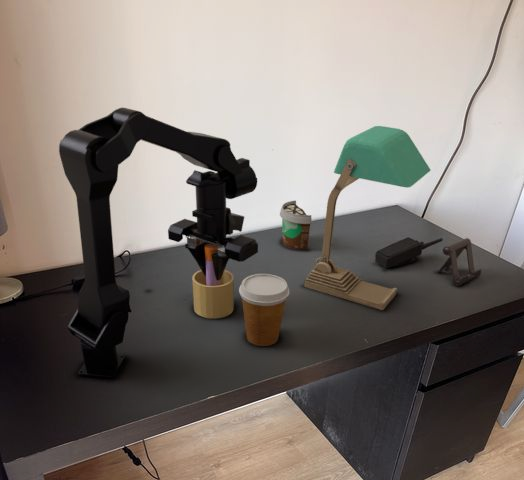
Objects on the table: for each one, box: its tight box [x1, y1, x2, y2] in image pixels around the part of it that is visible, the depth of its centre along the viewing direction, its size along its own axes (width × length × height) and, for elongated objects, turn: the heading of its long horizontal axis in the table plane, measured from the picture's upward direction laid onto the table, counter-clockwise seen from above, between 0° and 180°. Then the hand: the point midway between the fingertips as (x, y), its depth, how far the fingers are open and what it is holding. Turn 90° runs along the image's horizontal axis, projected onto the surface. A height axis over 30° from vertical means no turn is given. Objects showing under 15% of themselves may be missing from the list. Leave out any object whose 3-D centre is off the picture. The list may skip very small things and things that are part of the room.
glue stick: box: [205, 244, 220, 286], centre depth 109 cm, size 3×3×9 cm
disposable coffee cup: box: [238, 273, 290, 347], centre depth 102 cm, size 10×10×12 cm
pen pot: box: [191, 269, 235, 319], centre depth 112 cm, size 9×9×8 cm
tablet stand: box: [437, 237, 482, 287], centre depth 128 cm, size 9×8×8 cm
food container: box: [279, 200, 312, 251], centre depth 140 cm, size 12×6×10 cm, turn 17°
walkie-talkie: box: [374, 237, 444, 269], centre depth 136 cm, size 6×6×20 cm
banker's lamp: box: [304, 125, 431, 311], centre depth 112 cm, size 16×21×35 cm
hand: (213, 277), depth 110 cm, fingers closed on glue stick, 3 cm apart
